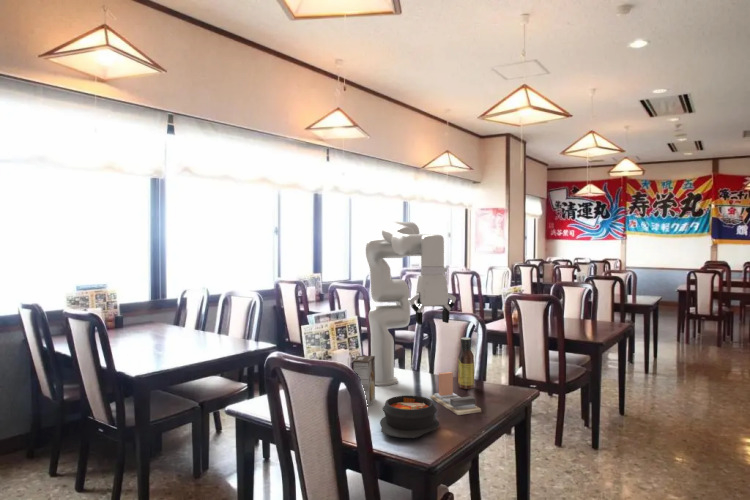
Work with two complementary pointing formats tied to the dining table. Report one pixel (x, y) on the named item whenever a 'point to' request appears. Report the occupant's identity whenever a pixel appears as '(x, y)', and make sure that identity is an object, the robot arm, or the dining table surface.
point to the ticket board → (459, 412)
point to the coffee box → (366, 375)
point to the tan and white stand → (445, 385)
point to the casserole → (408, 416)
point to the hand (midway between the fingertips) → (432, 323)
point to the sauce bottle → (466, 365)
